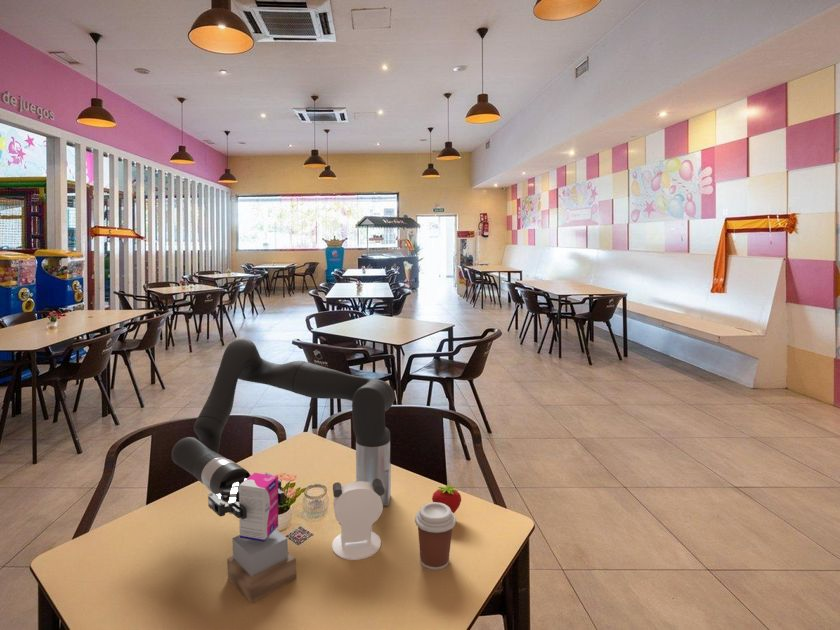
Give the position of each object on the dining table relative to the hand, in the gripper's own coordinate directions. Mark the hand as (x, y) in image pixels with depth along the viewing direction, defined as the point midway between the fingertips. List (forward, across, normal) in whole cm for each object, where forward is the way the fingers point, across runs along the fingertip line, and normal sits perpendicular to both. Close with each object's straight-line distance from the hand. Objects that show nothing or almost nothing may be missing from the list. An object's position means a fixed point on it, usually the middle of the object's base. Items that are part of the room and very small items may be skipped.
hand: (264, 506), depth 96 cm
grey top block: (-2, 0, +12) cm, 13 cm away
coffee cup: (+21, +29, +17) cm, 40 cm away
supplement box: (-2, 0, +7) cm, 7 cm away
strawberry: (+12, +44, +17) cm, 49 cm away
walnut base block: (-2, 0, +18) cm, 18 cm away
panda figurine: (+4, +22, +17) cm, 28 cm away
